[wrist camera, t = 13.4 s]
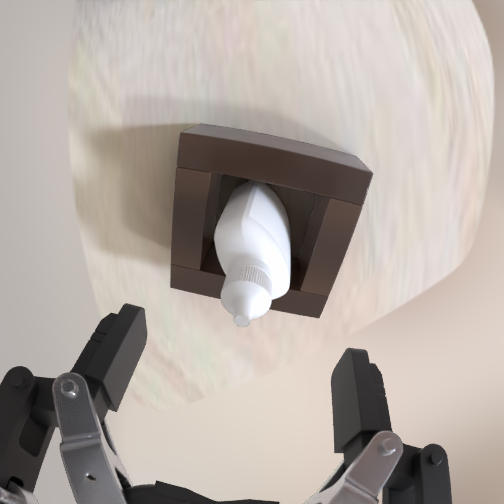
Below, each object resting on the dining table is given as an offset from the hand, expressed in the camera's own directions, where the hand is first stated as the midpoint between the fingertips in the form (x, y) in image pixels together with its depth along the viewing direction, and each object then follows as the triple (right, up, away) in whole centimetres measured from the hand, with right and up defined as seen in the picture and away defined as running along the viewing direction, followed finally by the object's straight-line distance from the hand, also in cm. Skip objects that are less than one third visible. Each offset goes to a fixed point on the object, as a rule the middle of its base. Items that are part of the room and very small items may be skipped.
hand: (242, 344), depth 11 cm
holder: (+1, +7, +12) cm, 14 cm away
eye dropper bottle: (+1, +7, +12) cm, 14 cm away
